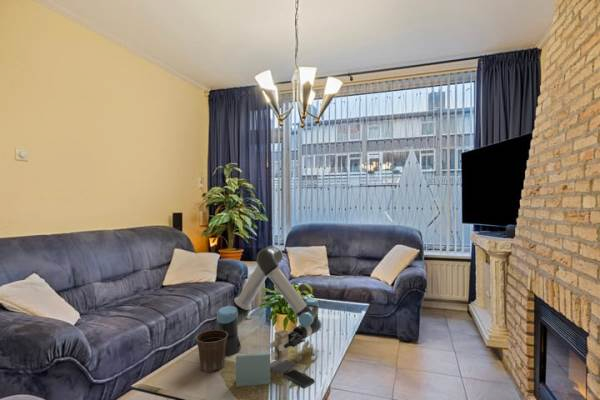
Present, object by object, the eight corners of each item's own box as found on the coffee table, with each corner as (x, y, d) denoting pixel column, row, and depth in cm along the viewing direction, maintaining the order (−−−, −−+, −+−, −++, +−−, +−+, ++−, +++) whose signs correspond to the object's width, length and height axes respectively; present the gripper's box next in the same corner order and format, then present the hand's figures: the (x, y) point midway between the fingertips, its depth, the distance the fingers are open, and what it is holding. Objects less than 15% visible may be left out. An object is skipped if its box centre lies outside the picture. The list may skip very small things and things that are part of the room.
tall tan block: (274, 359, 177) (274, 332, 177) (281, 355, 182) (280, 329, 181) (282, 362, 174) (281, 334, 174) (288, 358, 179) (288, 331, 179)
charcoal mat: (266, 367, 177) (266, 365, 177) (279, 359, 186) (279, 357, 186) (282, 374, 171) (282, 372, 171) (296, 365, 179) (296, 363, 179)
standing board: (236, 380, 165) (236, 353, 165) (269, 378, 167) (269, 351, 167) (235, 386, 160) (235, 358, 160) (270, 383, 162) (270, 356, 162)
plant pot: (190, 373, 171) (190, 341, 171) (203, 358, 187) (203, 328, 187) (221, 375, 169) (221, 343, 169) (232, 360, 185) (232, 330, 185)
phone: (304, 386, 158) (282, 374, 169) (304, 388, 158) (282, 376, 169) (315, 380, 164) (293, 368, 174) (315, 382, 164) (293, 371, 174)
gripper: (315, 342, 187) (289, 359, 168) (289, 334, 198) (261, 349, 179) (315, 329, 187) (288, 344, 168) (289, 321, 198) (261, 335, 179)
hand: (275, 346), depth 174 cm, fingers closed on tall tan block, 5 cm apart
